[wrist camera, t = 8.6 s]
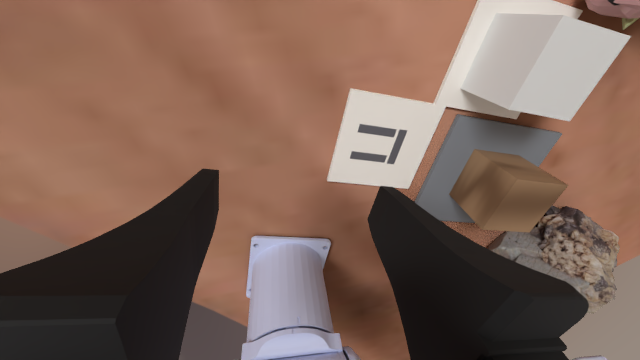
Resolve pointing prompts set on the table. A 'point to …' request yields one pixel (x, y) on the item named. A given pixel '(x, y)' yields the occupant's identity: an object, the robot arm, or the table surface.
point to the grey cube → (542, 63)
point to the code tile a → (382, 139)
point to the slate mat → (459, 149)
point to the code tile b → (472, 38)
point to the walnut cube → (505, 191)
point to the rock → (567, 252)
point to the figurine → (617, 9)
